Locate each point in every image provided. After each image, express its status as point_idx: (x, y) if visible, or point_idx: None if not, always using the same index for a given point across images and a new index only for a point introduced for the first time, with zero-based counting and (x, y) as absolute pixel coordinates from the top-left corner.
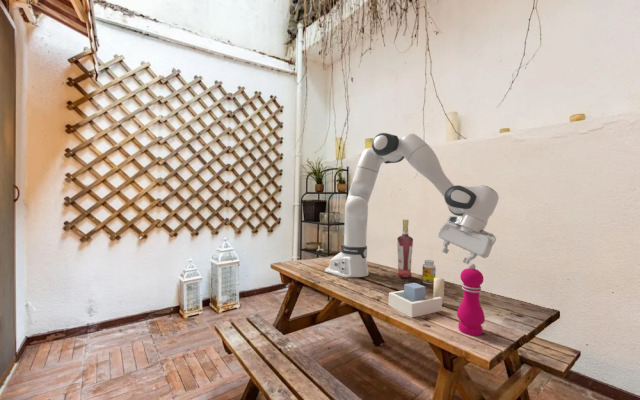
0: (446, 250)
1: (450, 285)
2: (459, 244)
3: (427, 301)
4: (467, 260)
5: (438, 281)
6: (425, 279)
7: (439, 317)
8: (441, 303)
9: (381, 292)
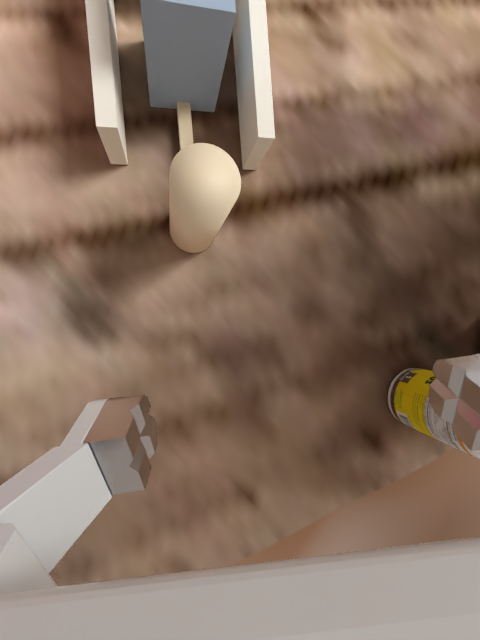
0: (463, 386)
1: (351, 471)
2: (363, 614)
3: (87, 13)
4: (74, 425)
5: (182, 155)
6: (418, 371)
7: (52, 91)
8: (103, 143)
9: (373, 93)
